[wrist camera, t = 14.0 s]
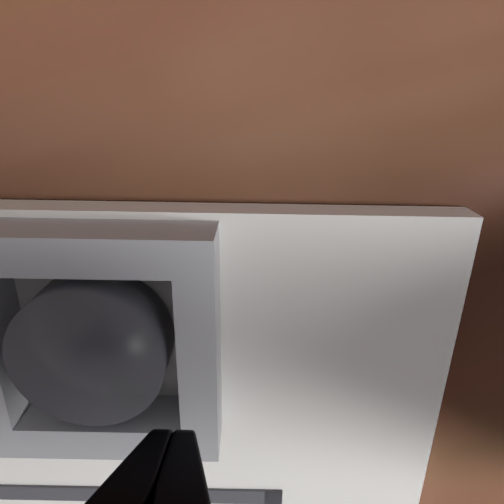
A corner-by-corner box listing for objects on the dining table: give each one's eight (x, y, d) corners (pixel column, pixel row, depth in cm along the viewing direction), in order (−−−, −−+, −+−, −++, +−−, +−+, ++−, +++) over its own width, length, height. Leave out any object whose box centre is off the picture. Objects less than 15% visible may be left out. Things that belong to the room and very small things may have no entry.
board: (465, 206, 12) (517, 237, 9) (376, 635, 19) (392, 712, 17) (-258, 195, 12) (-386, 223, 9) (-66, 626, 19) (-111, 701, 17)
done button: (170, 267, 11) (158, 293, 10) (178, 389, 13) (168, 427, 11) (20, 265, 11) (-14, 291, 10) (45, 387, 13) (19, 425, 11)
